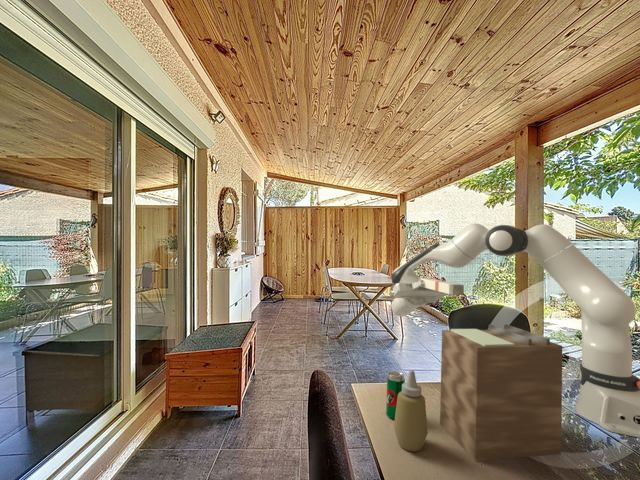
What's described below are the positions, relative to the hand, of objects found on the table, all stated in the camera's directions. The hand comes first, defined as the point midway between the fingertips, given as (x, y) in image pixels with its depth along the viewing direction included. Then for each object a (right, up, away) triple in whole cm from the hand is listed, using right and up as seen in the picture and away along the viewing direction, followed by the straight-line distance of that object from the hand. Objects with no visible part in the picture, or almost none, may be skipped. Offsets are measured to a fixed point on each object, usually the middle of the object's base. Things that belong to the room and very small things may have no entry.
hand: (429, 282), depth 109 cm
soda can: (-17, -36, -20) cm, 45 cm away
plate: (+3, -11, -29) cm, 31 cm away
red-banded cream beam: (+1, -2, -6) cm, 7 cm away
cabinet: (+7, -37, -29) cm, 47 cm away
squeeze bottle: (-16, -36, -33) cm, 51 cm away
